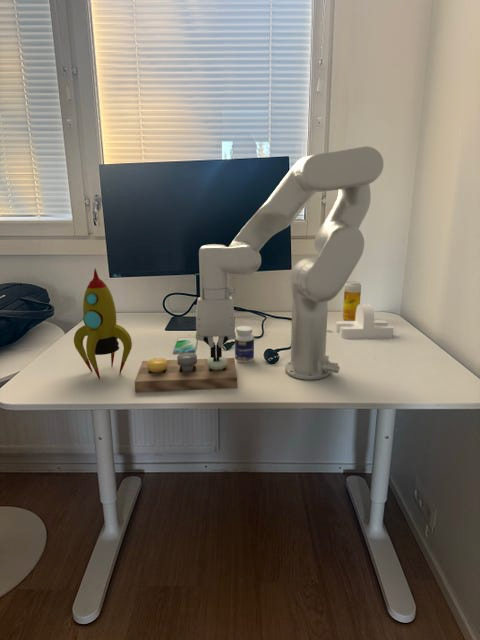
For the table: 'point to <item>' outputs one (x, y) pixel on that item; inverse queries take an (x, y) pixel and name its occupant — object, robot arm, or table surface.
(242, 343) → the pill bottle
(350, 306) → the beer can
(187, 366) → the grey rounded lump
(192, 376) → the console
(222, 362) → the button sage
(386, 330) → the u-slot stand
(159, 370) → the button amber
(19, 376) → the table surface
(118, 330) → the toy rocket
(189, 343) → the smartphone
